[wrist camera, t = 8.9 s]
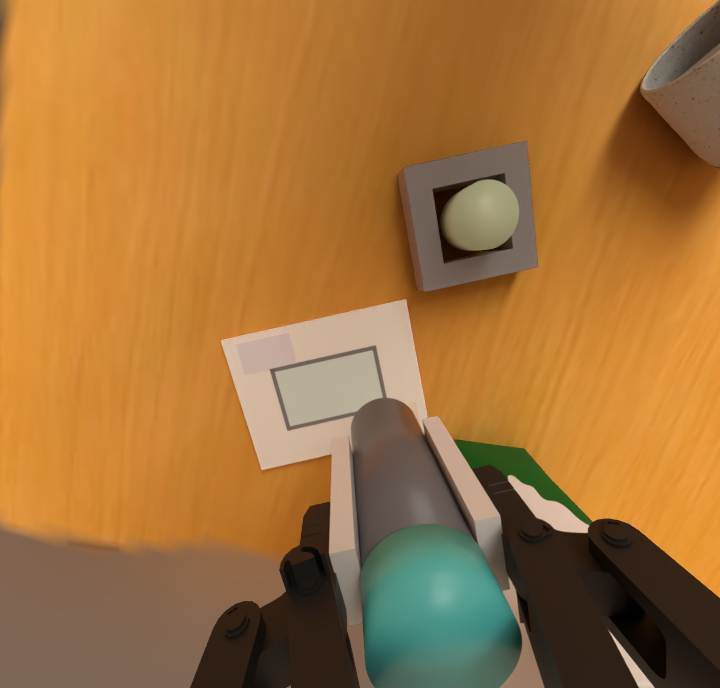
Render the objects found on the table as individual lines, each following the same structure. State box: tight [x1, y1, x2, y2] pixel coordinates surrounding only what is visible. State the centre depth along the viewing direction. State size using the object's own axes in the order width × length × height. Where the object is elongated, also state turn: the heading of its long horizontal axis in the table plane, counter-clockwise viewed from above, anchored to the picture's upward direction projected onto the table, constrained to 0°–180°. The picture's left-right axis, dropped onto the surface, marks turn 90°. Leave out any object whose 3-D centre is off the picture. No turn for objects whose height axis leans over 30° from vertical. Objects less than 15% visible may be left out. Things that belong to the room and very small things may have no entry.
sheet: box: [221, 299, 428, 470], centre depth 28 cm, size 11×14×1 cm
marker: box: [351, 398, 522, 688], centre depth 14 cm, size 4×4×12 cm
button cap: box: [440, 180, 519, 251], centre depth 23 cm, size 4×4×3 cm
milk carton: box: [453, 439, 654, 688], centre depth 21 cm, size 9×9×20 cm
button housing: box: [397, 141, 538, 292], centre depth 25 cm, size 8×8×2 cm
